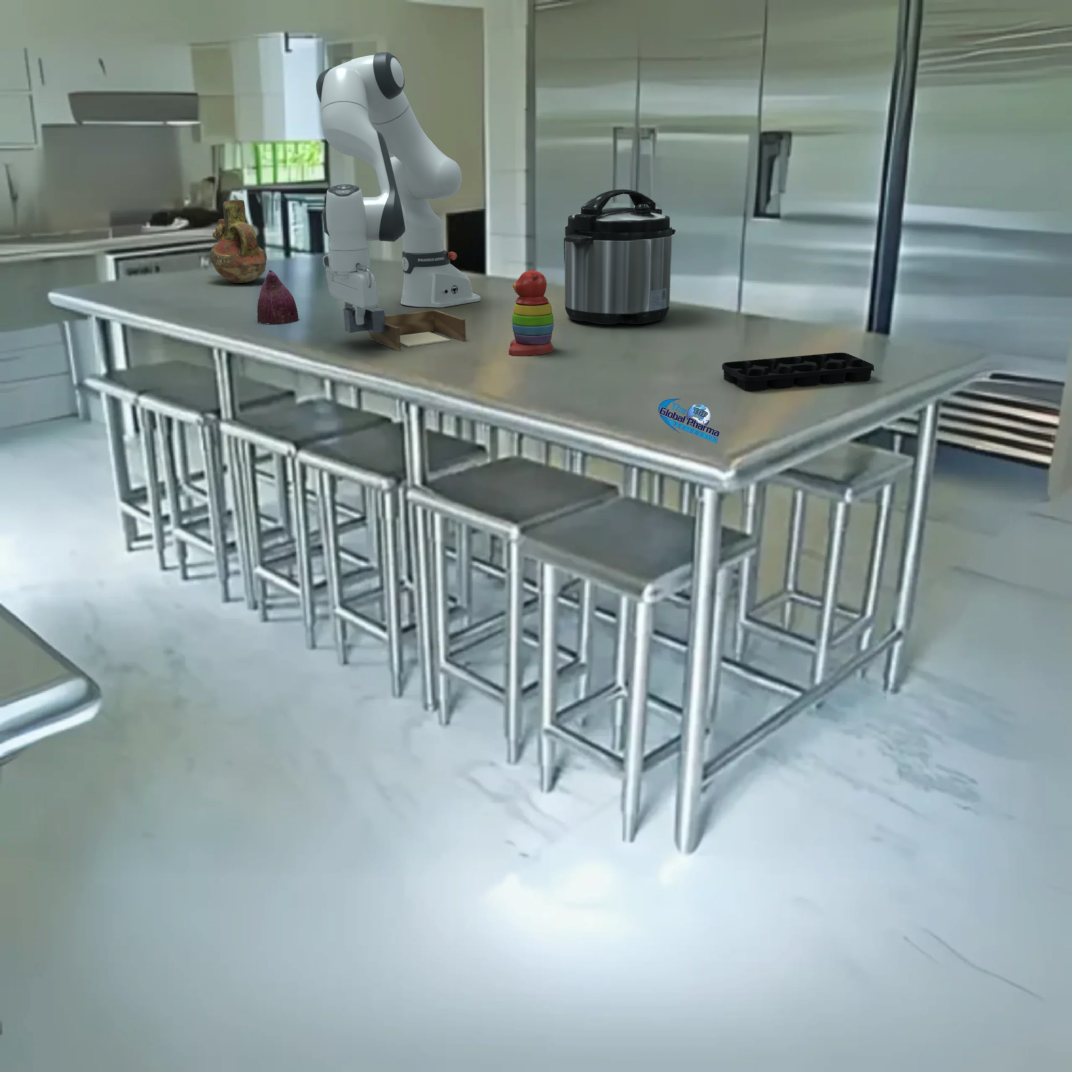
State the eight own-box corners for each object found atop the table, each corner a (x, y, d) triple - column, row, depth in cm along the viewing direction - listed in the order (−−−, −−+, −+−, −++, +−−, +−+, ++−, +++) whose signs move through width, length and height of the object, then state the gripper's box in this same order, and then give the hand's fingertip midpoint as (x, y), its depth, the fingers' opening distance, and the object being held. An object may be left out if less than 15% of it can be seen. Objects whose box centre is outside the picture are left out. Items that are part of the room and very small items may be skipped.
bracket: (372, 326, 251) (371, 305, 249) (385, 331, 245) (384, 309, 243) (345, 330, 247) (343, 308, 245) (357, 335, 242) (355, 313, 240)
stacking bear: (510, 345, 248) (508, 267, 241) (554, 345, 248) (553, 266, 241) (507, 356, 238) (506, 274, 231) (553, 355, 238) (553, 274, 231)
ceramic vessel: (244, 274, 352) (235, 194, 342) (285, 283, 334) (277, 199, 325) (195, 280, 341) (185, 198, 332) (235, 290, 324) (225, 203, 314)
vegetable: (289, 337, 275) (284, 282, 266) (251, 330, 276) (245, 276, 267) (305, 319, 283) (301, 265, 274) (268, 312, 285) (263, 259, 275)
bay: (436, 329, 265) (435, 309, 263) (466, 340, 253) (465, 319, 251) (369, 338, 256) (368, 317, 254) (396, 350, 244) (395, 328, 243)
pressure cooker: (657, 305, 292) (661, 183, 280) (688, 326, 266) (694, 192, 254) (549, 310, 288) (548, 186, 276) (570, 331, 262) (570, 195, 250)
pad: (428, 333, 261) (428, 331, 261) (449, 341, 253) (449, 339, 253) (387, 338, 256) (387, 337, 256) (407, 347, 247) (407, 345, 247)
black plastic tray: (883, 381, 215) (885, 363, 214) (766, 401, 202) (767, 382, 201) (823, 364, 230) (824, 346, 228) (709, 381, 217) (710, 363, 215)
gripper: (382, 265, 235) (387, 328, 240) (344, 254, 250) (350, 313, 256) (356, 268, 231) (361, 332, 237) (319, 257, 247) (325, 317, 253)
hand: (355, 322), depth 247 cm, fingers closed on bracket, 3 cm apart
